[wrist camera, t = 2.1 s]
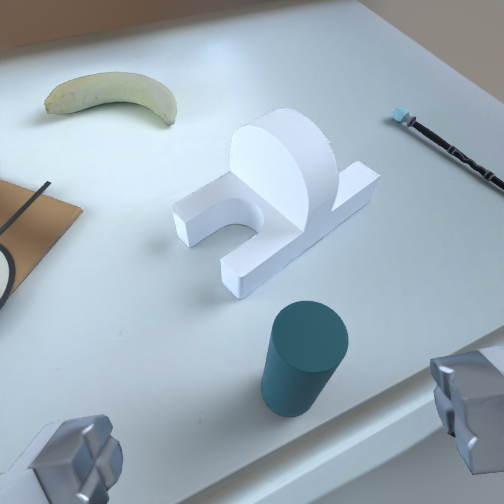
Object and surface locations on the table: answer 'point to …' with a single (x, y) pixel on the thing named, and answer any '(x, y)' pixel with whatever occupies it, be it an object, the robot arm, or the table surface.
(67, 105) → the fruit
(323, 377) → the teal cylinder
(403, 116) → the magic staff
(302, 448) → the table surface
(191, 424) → the table surface
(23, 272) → the brown flat square board
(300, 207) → the block with arch cutout
